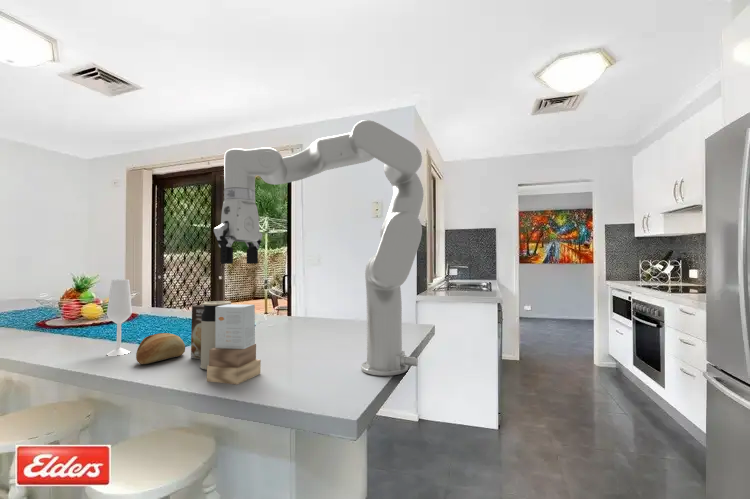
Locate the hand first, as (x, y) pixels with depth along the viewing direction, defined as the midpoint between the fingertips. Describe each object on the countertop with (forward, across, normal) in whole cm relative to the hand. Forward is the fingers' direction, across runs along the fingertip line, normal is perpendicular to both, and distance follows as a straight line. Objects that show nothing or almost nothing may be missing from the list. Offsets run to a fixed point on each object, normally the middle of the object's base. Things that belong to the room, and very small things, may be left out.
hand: (240, 263), depth 92 cm
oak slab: (+29, -1, +1) cm, 29 cm away
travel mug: (+29, +6, +13) cm, 32 cm away
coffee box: (+29, +14, +23) cm, 39 cm away
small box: (+21, 0, +1) cm, 21 cm away
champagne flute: (+28, +9, +55) cm, 62 cm away
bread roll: (+29, +7, +34) cm, 45 cm away
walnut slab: (+25, -1, +2) cm, 25 cm away
